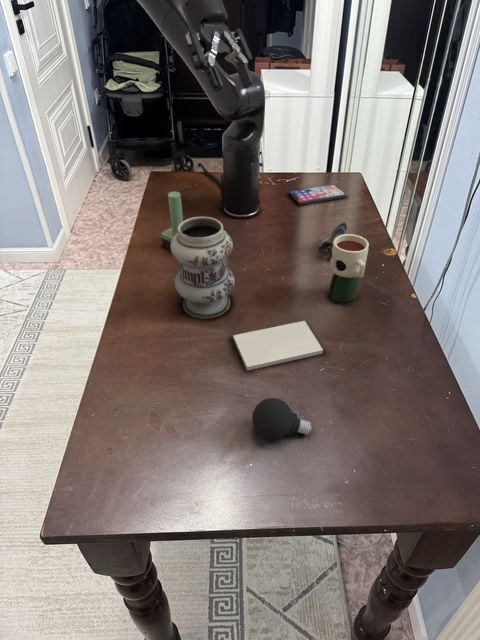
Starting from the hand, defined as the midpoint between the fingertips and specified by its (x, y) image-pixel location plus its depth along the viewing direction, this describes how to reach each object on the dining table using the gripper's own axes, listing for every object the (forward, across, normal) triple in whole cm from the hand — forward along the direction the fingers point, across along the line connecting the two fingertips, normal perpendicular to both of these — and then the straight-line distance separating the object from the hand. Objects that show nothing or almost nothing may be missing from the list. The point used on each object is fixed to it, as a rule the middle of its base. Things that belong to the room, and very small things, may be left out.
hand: (234, 88), depth 96 cm
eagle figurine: (+38, -18, -6) cm, 42 cm away
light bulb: (+57, +32, +10) cm, 66 cm away
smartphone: (+24, -39, -20) cm, 50 cm away
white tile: (+48, +17, +1) cm, 51 cm away
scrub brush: (+23, +5, -30) cm, 38 cm away
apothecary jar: (+36, +17, -14) cm, 43 cm away
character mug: (+46, -5, +3) cm, 47 cm away
